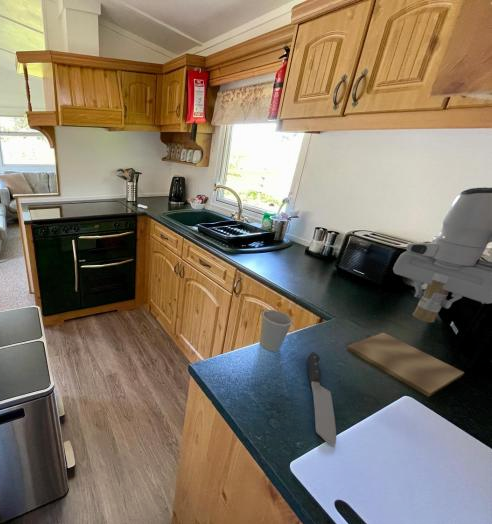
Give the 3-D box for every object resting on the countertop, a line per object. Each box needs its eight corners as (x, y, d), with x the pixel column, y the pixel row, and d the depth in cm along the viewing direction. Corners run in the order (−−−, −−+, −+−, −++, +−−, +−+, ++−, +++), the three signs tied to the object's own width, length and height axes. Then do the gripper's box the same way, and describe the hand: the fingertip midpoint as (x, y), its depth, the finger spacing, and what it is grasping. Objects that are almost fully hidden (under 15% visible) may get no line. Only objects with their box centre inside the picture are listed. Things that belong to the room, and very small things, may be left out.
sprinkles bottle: (409, 312, 82) (430, 268, 77) (430, 317, 80) (452, 272, 75) (415, 320, 78) (437, 274, 73) (437, 325, 76) (461, 279, 71)
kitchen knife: (345, 449, 56) (319, 433, 57) (337, 455, 57) (312, 440, 58) (327, 358, 81) (309, 348, 82) (322, 364, 82) (304, 354, 83)
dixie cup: (290, 352, 85) (299, 323, 81) (267, 356, 82) (275, 326, 79) (271, 335, 92) (278, 308, 89) (249, 338, 90) (256, 310, 86)
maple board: (462, 375, 80) (464, 372, 80) (428, 397, 72) (430, 393, 71) (381, 335, 97) (383, 332, 96) (346, 348, 88) (347, 345, 88)
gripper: (522, 267, 65) (491, 319, 70) (412, 241, 82) (393, 284, 87) (512, 270, 62) (480, 324, 67) (400, 242, 79) (382, 287, 84)
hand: (430, 302), depth 77 cm, fingers closed on sprinkles bottle, 4 cm apart
